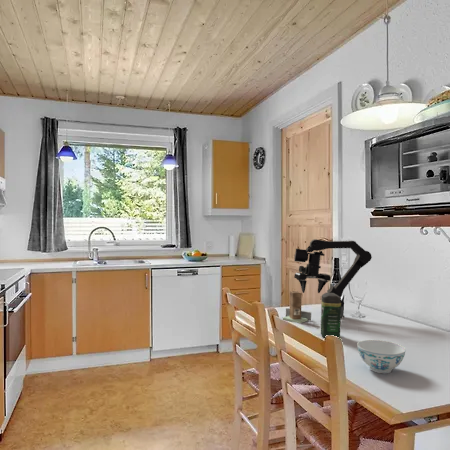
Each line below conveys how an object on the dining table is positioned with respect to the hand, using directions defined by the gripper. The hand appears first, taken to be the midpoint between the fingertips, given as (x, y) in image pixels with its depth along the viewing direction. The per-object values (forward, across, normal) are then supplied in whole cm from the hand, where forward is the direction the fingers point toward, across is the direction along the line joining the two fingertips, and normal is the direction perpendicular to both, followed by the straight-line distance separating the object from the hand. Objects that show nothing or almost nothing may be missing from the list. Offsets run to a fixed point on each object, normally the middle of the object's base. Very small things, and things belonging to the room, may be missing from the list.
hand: (310, 292), depth 211 cm
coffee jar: (+11, +12, +37) cm, 40 cm away
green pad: (+12, +12, +7) cm, 19 cm away
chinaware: (+8, +19, +75) cm, 78 cm away
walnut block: (+11, +12, +7) cm, 18 cm away
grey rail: (+12, +8, +4) cm, 15 cm away
